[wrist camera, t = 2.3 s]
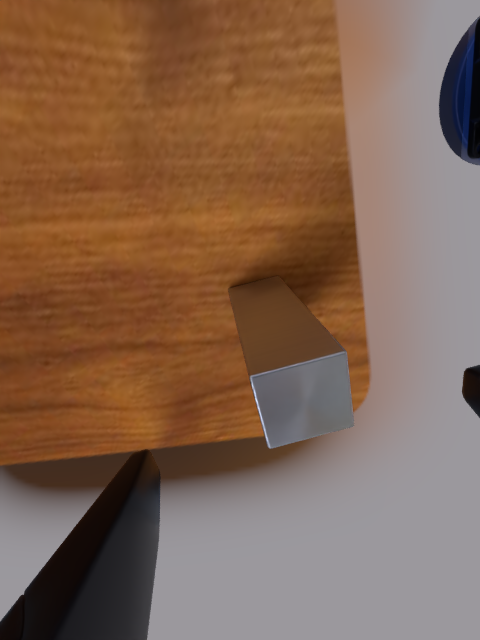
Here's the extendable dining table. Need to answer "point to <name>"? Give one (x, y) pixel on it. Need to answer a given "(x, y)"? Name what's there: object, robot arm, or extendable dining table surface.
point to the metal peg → (291, 364)
